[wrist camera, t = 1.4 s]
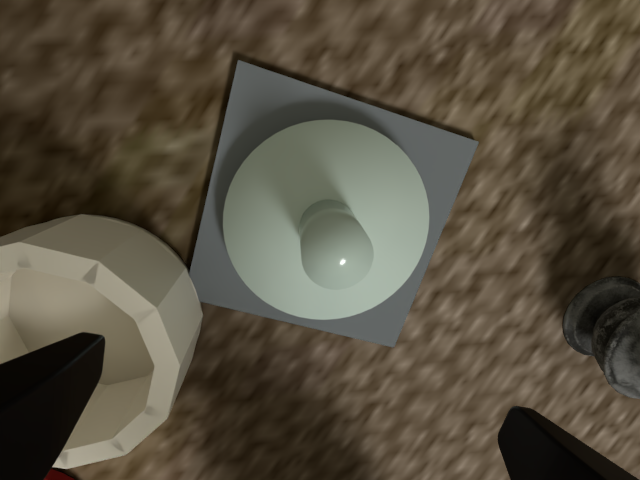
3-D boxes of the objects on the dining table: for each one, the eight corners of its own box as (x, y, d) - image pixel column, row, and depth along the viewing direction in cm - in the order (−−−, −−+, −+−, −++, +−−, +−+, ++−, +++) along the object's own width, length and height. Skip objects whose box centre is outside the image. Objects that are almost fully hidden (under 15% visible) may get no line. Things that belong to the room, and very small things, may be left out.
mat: (475, 141, 19) (478, 141, 19) (392, 343, 22) (393, 347, 22) (239, 61, 17) (237, 60, 17) (185, 294, 20) (183, 297, 20)
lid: (452, 155, 19) (507, 167, 14) (383, 328, 21) (410, 387, 17) (253, 90, 17) (239, 80, 12) (207, 285, 20) (180, 338, 15)
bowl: (221, 245, 20) (199, 285, 15) (181, 406, 23) (152, 483, 18) (4, 189, 18) (-98, 213, 13) (-10, 369, 21) (-99, 442, 16)
